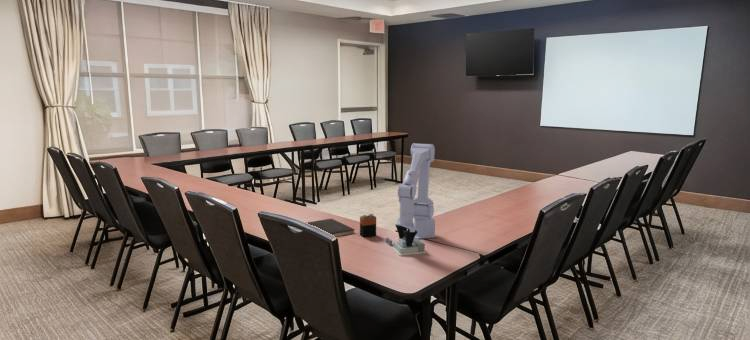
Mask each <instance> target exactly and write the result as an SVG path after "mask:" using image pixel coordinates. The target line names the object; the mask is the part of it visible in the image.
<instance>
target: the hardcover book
mask: <svg viewBox="0 0 750 340" xmlns="http://www.w3.org/2000/svg"><path fill="white" fill-rule="evenodd" d="M306 223H308V224H310V225H313V226H316V227H318V228H320V229H322V230H324V231H326V232H328V233H330V234H332V235H334V236H335V237H340V236H345V235H351V234H354V233H355V230H356V229H354V228H353V227H351V226H349V225H346V224H344V223H342V222H340V221H338V220H336V219H334V218H327V219H321V220H315V221H308V222H306Z"/></svg>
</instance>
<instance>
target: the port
mask: <svg viewBox="0 0 750 340" xmlns="http://www.w3.org/2000/svg"><path fill="white" fill-rule="evenodd" d="M425 244H426V243H424V241H422V240H421V239H418V238H415V237H414V240H413V244H412V247H406V248H402V247H401V246H400V245H399V241H398V242H393V246H391V249H392V250H393V251H394V252H395V253H396V254H397V255H399V256H400V257H402V256H411V255H412V254H413V255H421V254H422V253H423V254H427V253H428V252H427V251H426V250H425Z"/></svg>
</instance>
